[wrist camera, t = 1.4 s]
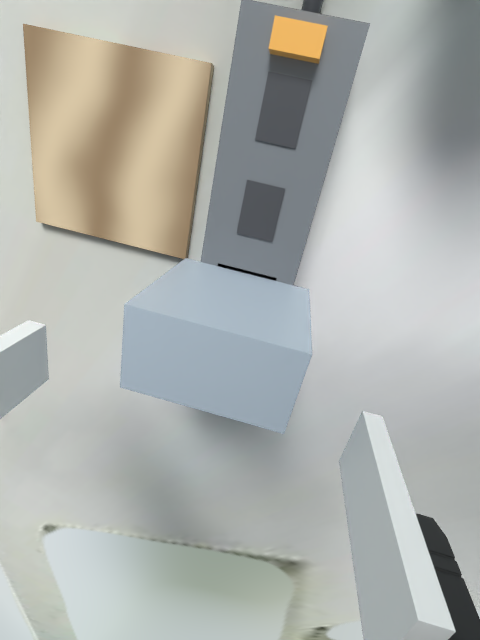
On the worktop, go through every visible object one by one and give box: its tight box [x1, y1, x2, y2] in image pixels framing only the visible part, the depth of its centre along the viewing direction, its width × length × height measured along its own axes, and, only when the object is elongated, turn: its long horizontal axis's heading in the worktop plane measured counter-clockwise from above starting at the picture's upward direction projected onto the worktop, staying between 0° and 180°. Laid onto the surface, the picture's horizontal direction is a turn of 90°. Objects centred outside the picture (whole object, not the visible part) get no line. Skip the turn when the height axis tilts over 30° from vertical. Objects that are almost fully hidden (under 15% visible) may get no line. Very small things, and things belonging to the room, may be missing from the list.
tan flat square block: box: [23, 24, 214, 259], centre depth 23 cm, size 12×12×1 cm
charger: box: [120, 258, 312, 434], centre depth 19 cm, size 4×8×10 cm, turn 78°
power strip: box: [201, 0, 370, 285], centre depth 19 cm, size 28×6×5 cm, turn 168°
